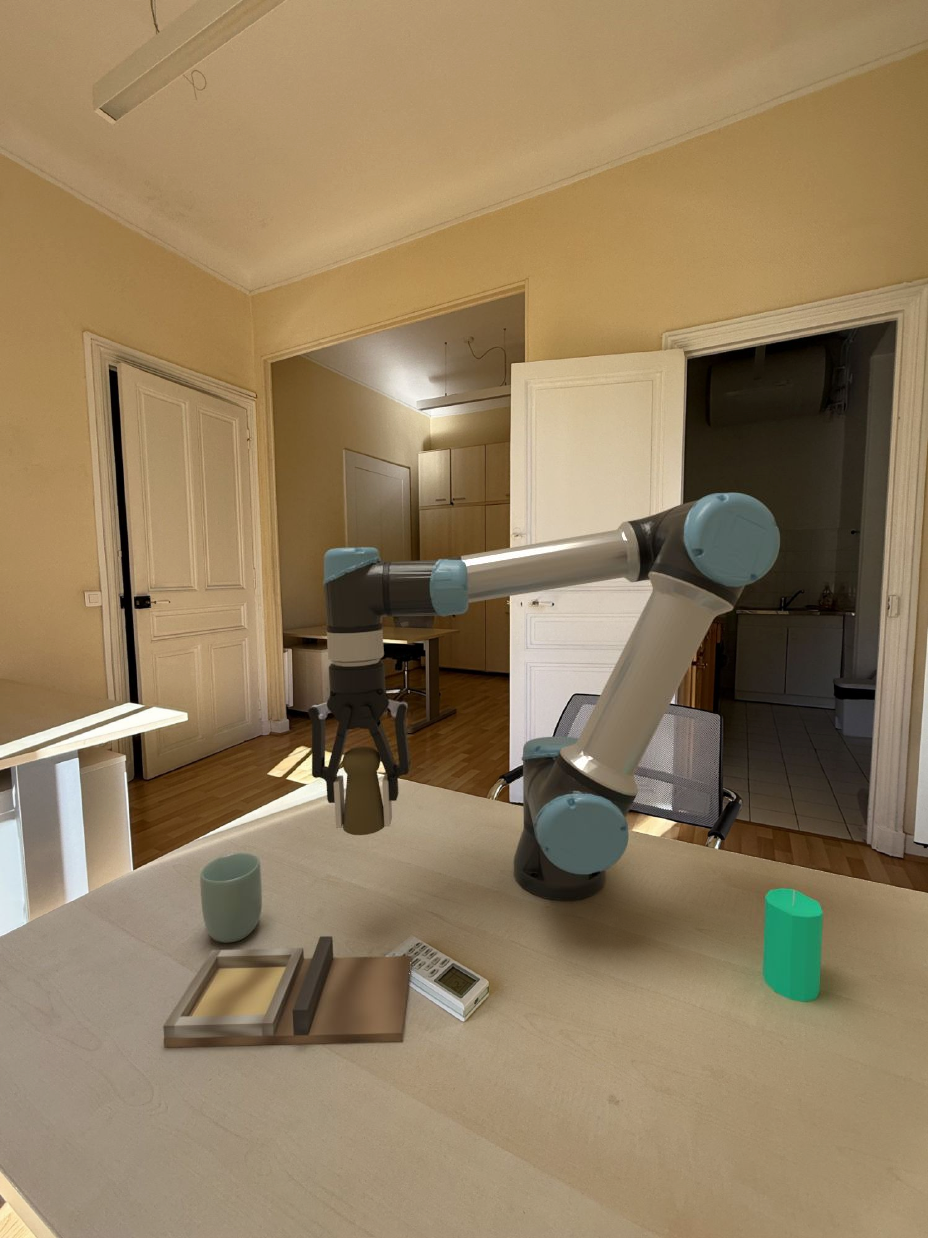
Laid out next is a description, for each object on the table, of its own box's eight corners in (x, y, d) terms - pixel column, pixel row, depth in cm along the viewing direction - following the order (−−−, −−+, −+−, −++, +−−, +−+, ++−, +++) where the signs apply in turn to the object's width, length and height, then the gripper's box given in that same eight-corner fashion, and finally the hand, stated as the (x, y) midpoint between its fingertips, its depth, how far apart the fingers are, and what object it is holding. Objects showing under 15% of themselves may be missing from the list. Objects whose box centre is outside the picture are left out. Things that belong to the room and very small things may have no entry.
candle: (800, 1009, 64) (804, 911, 63) (752, 975, 69) (754, 884, 68) (830, 990, 66) (834, 895, 65) (781, 959, 72) (785, 871, 71)
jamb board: (411, 963, 72) (410, 934, 72) (401, 1041, 60) (400, 1007, 60) (213, 968, 72) (211, 939, 72) (164, 1047, 60) (161, 1013, 60)
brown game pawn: (334, 831, 76) (329, 754, 75) (358, 812, 82) (354, 740, 81) (371, 838, 74) (367, 758, 73) (394, 818, 79) (390, 744, 78)
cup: (243, 955, 75) (238, 884, 74) (192, 948, 76) (187, 879, 75) (273, 919, 82) (270, 855, 81) (227, 913, 84) (223, 850, 83)
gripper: (427, 654, 79) (433, 809, 82) (295, 658, 79) (304, 813, 81) (423, 663, 72) (430, 833, 74) (278, 668, 72) (289, 838, 74)
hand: (364, 822), depth 78 cm, fingers closed on brown game pawn, 6 cm apart
